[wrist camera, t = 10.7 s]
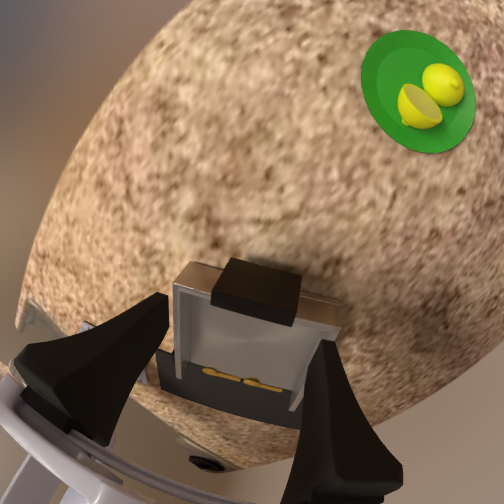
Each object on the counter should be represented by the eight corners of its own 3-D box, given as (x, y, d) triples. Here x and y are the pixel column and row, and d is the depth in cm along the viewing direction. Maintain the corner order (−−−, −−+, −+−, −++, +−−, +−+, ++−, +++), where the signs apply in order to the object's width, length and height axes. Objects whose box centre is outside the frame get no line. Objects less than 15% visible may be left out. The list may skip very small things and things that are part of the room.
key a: (203, 370, 28) (202, 372, 28) (202, 366, 27) (201, 369, 26) (240, 380, 28) (239, 382, 28) (241, 377, 26) (240, 379, 26)
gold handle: (310, 390, 27) (309, 399, 26) (175, 353, 28) (171, 360, 27) (313, 385, 26) (312, 394, 25) (175, 346, 28) (170, 354, 27)
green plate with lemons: (439, 175, 15) (457, 186, 12) (337, 105, 14) (341, 103, 12) (485, 85, 10) (507, 83, 8) (388, 11, 10) (398, -5, 8)
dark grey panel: (161, 387, 33) (161, 389, 33) (155, 347, 29) (154, 349, 29) (305, 429, 31) (305, 430, 31) (330, 396, 26) (330, 399, 26)
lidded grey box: (297, 387, 26) (291, 429, 22) (187, 356, 28) (167, 393, 23) (349, 278, 19) (355, 326, 15) (191, 237, 21) (157, 273, 16)
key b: (242, 380, 27) (242, 383, 27) (245, 378, 26) (244, 381, 26) (279, 390, 27) (278, 392, 27) (283, 388, 26) (283, 391, 26)
